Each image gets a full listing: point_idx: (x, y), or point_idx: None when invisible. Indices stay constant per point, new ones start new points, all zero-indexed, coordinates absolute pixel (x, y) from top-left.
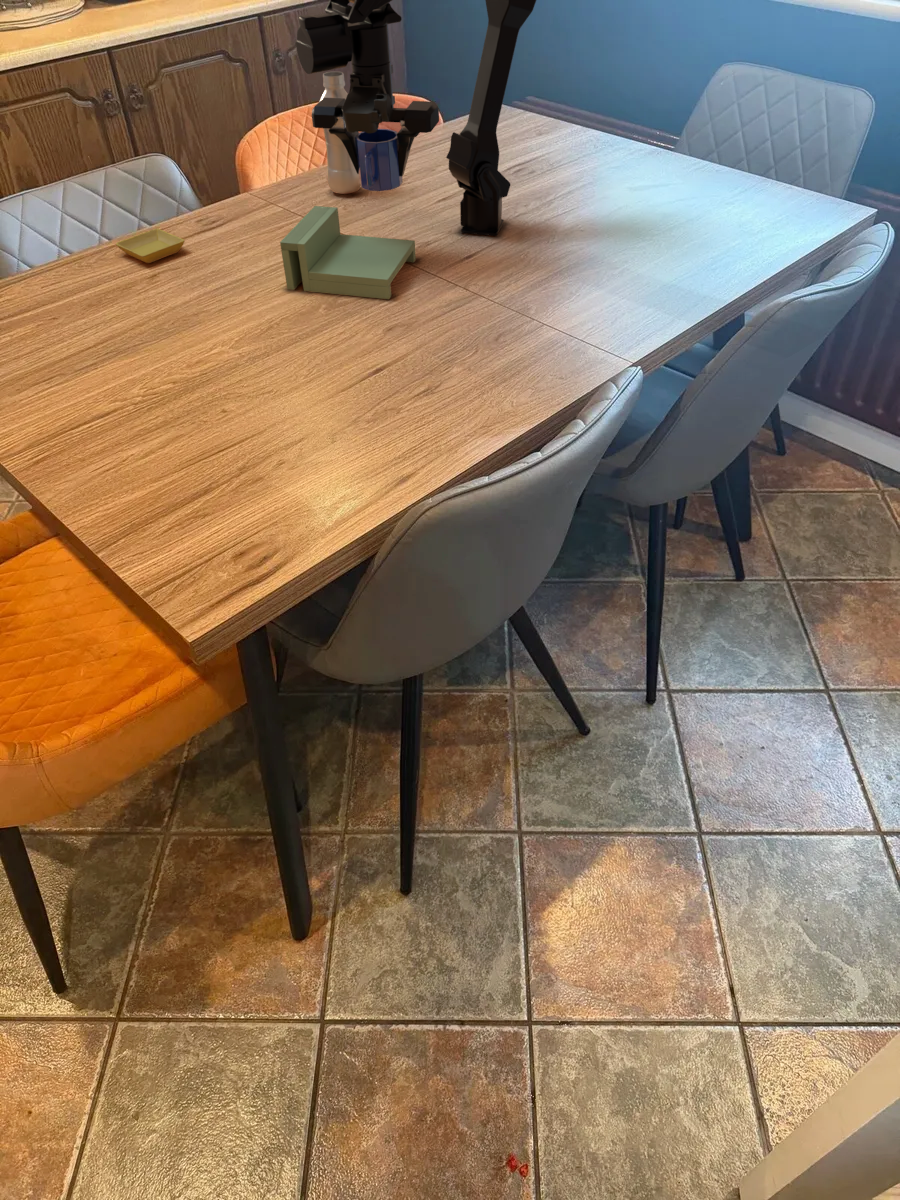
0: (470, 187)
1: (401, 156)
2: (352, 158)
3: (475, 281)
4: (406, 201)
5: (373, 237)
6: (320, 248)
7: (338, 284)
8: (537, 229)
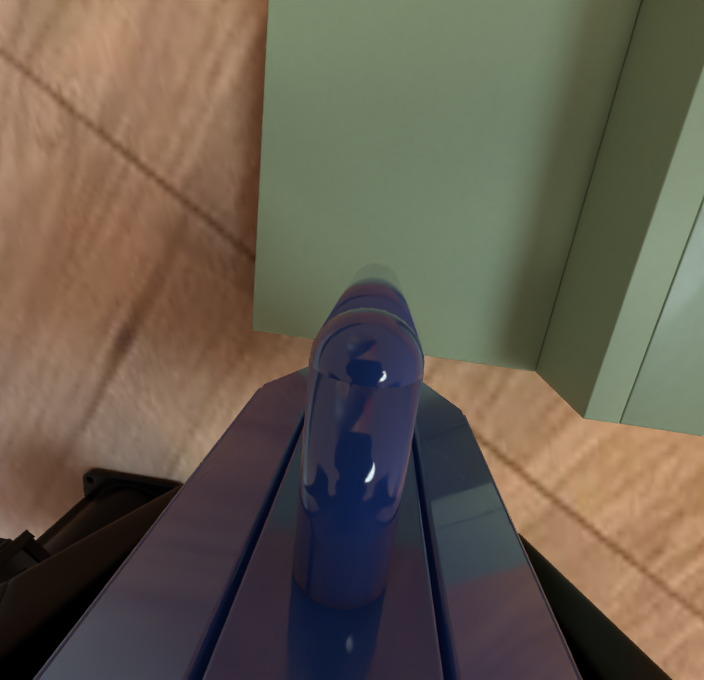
0: None
1: (52, 585)
2: (603, 632)
3: (55, 170)
4: None
5: None
6: (618, 144)
7: None
8: (7, 510)
